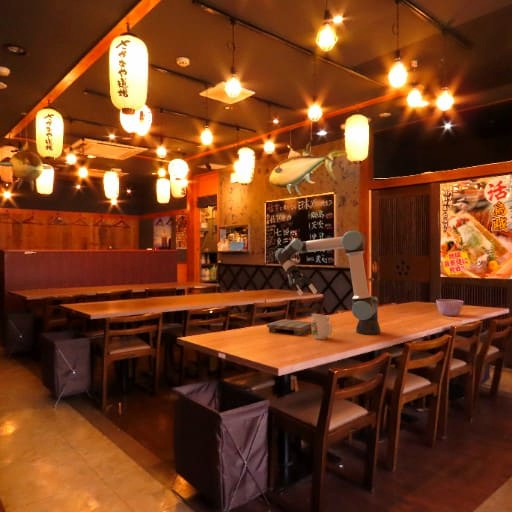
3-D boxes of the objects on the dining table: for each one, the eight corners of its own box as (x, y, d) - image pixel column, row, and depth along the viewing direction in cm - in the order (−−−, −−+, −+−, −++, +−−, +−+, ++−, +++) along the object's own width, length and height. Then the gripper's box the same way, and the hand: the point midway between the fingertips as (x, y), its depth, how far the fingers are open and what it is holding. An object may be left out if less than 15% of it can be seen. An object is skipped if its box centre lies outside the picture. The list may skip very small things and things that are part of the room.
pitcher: (323, 342, 244) (323, 318, 244) (305, 336, 260) (305, 314, 259) (338, 340, 250) (338, 316, 249) (319, 334, 265) (319, 312, 265)
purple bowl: (468, 317, 325) (468, 302, 325) (442, 317, 326) (442, 302, 325) (456, 313, 345) (456, 299, 345) (431, 313, 346) (431, 299, 345)
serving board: (315, 329, 281) (315, 322, 281) (300, 336, 262) (300, 327, 262) (283, 326, 294) (283, 319, 293) (266, 332, 275) (266, 324, 275)
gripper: (300, 271, 288) (318, 295, 277) (274, 273, 271) (291, 299, 260) (306, 264, 284) (324, 288, 273) (280, 265, 267) (298, 291, 256)
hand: (308, 293), depth 267 cm, fingers open, 13 cm apart
